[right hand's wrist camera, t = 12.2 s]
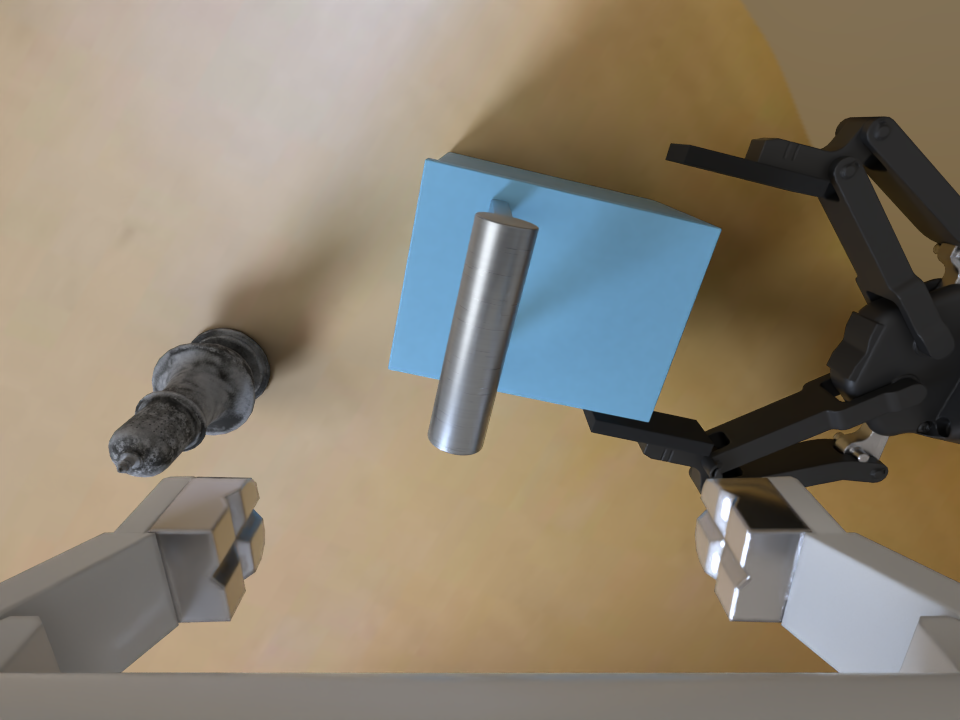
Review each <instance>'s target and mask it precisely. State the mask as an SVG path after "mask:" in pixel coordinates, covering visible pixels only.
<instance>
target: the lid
mask: <svg viewBox="0 0 960 720" xmlns="http://www.w3.org/2000/svg"><path fill="white" fill-rule="evenodd" d="M721 230H722V229H721V228H719V227H716V226H714V225H711V224H707V223H702V222H698V221H694V220H690V219H685V218H681V217H677V216H673V215H668V214H664V213H660V212H656V211H651V210H647V209H643V208H639V207H635V206H630V205H626V204H622V203H618V202H613V201H609V200H605V199H601V198H596V197H592V196H588V195H584V194H579V193H575V192H571V191H567V190H562V189H558V188H554V187H550V186H545V185H541V184H537V183H533V182H528V181H524V180H520V179H516V178H511V177H507V176H503V175H499V174H494V173H490V172H486V171H482V170H478V169H473V168H469V167H465V166H461V165H456V164H452V163H448V162H444V161H439V160H435V159H431V158H427V159H426V160H425V165H424V170H423V176H422V181H421V187H420V193H419V198H418V204H417V209H416V215H415V221H414V226H413V232H412V238H411V243H410V249H409V254H408V260H407V266H406V271H405V277H404V282H403V288H402V294H401V299H400V305H399V311H398V316H397V322H396V327H395V333H394V339H393V344H392V350H391V355H390V361H389V367H388V369H390V370H395V371H400V372H405V373H409V374H414V375H419V376H424V377H429V378H434V379H439V384H438V389H437V393H436V398H435V403H434V407H433V412H432V417H431V421H430V426H429V430H428V438H429V440H430V442H431V443H432V444H433V445H434V446H435V447H437V448H438V449H440V450H442V451H445V452H447V453H451V454H455V455H471V454H475V453H477V452H479V451H480V450H481V449H482V447H483V443H484V439H485V436H486V432H487V428H488V424H489V420H490V416H491V412H492V409H493V405H494V401H495V397H496V393H497V391H498V392H502V393H507V394H512V395H517V396H522V397H527V398H532V399H537V400H542V401H546V402H551V403H556V404H561V405H566V406H571V407H576V408H581V409H586V410H591V411H595V412H600V413H605V414H610V415H615V416H620V417H625V418H630V419H635V420H639V421H644V422H649V421H650V418H651V416H652V413H653V410H654V408H655V405H656V402H657V400H658V397H659V394H660V392H661V389H662V386H663V384H664V381H665V378H666V376H667V373H668V371H669V368H670V365H671V363H672V360H673V357H674V355H675V352H676V349H677V347H678V344H679V341H680V339H681V336H682V333H683V331H684V328H685V325H686V323H687V320H688V318H689V315H690V312H691V310H692V307H693V304H694V302H695V299H696V296H697V294H698V291H699V288H700V286H701V283H702V280H703V278H704V275H705V272H706V270H707V267H708V265H709V262H710V259H711V257H712V254H713V251H714V249H715V246H716V243H717V241H718V238H719V235H720V233H721Z"/></svg>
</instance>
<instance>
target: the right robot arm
mask: <svg viewBox="0 0 960 720" xmlns="http://www.w3.org/2000/svg"><path fill="white" fill-rule="evenodd" d="M258 500H259V494H258V489H257V484H256V482H255V481H254V480H253V479H252V478H232V477H168V478H164V479H162V480H161V481H160V483H159V484H158V485H157V486H156V487H155V488H154V489H153V490H152V491H151V492H150V493H149V495H148V496H147V497H146V498H145V499H144V500H143V501H142V502H141V503H140V504H139V505H138V507H137V508H136V509H135V510H134V511H133V512H132V513H131V514H130V515H129V516H128V517H127V519H126V520H125V521H124V522H123V523H122V524H121V525H120V526H119V527H118V528H117V529H116V531H115V532H114V533H103V534H101V535H99V536H96V537H94V538H92V539H90V540H88V541H86V542H84V543H82V544H80V545H78V546H76V547H74V548H72V549H70V550H67V551H65V552H63V553H61V554H59V555H57V556H55V557H53V558H51V559H49V560H47V561H45V562H43V563H41V564H38V565H36V566H34V567H32V568H30V569H28V570H26V571H24V572H22V573H20V574H18V575H16V576H14V577H11V578H9V579H7V580H5V581H3V582H1V583H0V720H960V583H959V582H957V581H954V580H952V579H950V578H948V577H946V576H944V575H942V574H940V573H938V572H936V571H934V570H932V569H930V568H928V567H926V566H923V565H921V564H919V563H917V562H915V561H913V560H911V559H909V558H907V557H905V556H903V555H901V554H899V553H897V552H895V551H892V550H890V549H888V548H886V547H884V546H882V545H880V544H878V543H876V542H874V541H872V540H870V539H868V538H866V537H864V536H861V535H859V534H857V533H846V532H845V531H844V529H843V528H842V527H841V526H840V525H839V524H838V523H837V522H836V521H835V520H834V519H833V517H832V516H831V515H830V514H829V513H828V512H827V511H826V510H825V509H824V508H823V507H822V505H821V504H820V503H819V502H818V501H817V500H816V499H815V498H814V497H813V496H812V495H811V493H810V492H809V491H808V490H807V489H806V488H805V487H804V486H803V485H802V484H801V483H800V481H799V480H798V479H796V478H793V477H791V476H783V477H762V478H719V479H706V481H705V483H704V485H703V488H702V493H701V500H702V502H703V503H704V505H705V507H706V508H707V509H706V510H705V511H704V512H703V513H702V514H701V515H700V516H699V517H698V518H697V523H696V530H695V542H696V551H697V554H698V558H699V561H700V563H701V565H702V567H703V570H704V572H706V573H707V574H708V575H710V576H711V577H713V578H714V579H716V584H715V590H714V591H715V593H716V595H717V597H718V599H719V601H720V603H721V605H722V607H723V609H724V611H725V613H726V615H727V616H728V618H729V620H730V621H743V622H779V623H782V624H781V625H782V626H783V627H784V628H786V629H787V630H788V631H789V632H790V633H792V634H793V635H794V636H795V637H797V638H798V639H799V640H800V641H801V642H803V643H804V644H805V645H806V646H807V647H809V648H810V649H811V650H812V651H814V652H815V653H816V654H817V655H818V656H820V657H821V658H822V659H823V660H824V661H826V662H827V663H828V664H829V665H831V666H832V667H833V668H834V669H835V670H837V671H838V672H839V673H121V672H122V671H124V670H125V669H126V668H127V667H128V666H130V665H131V664H132V663H133V662H134V661H136V660H137V659H138V658H139V657H141V656H142V655H143V654H144V653H145V652H147V651H148V650H149V649H150V648H152V647H153V646H154V645H155V644H156V643H158V642H159V641H160V640H161V639H162V638H164V637H165V636H166V635H167V634H169V633H170V632H171V631H172V630H173V629H175V628H176V627H177V626H178V625H179V624H178V623H181V622H216V621H230V620H231V619H232V617H233V615H234V613H235V611H236V609H237V607H238V605H239V603H240V601H241V599H242V597H243V595H244V593H245V591H246V590H245V584H244V579H246V578H247V577H249V576H250V575H252V574H253V573H254V572H256V570H257V567H258V565H259V563H260V561H261V558H262V554H263V549H264V545H265V528H264V522H263V518H262V517H261V516H260V515H259V514H258V513H257V512H256V511H255V510H254V509H253V508H254V507H255V505H256V503H257V502H258Z"/></svg>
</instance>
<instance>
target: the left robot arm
mask: <svg viewBox="0 0 960 720" xmlns="http://www.w3.org/2000/svg"><path fill="white" fill-rule="evenodd" d="M666 160H668V161H672V162H676V163H680V164H684V165H688V166H692V167H696V168H700V169H704V170H708V171H712V172H716V173H720V174H724V175H728V176H732V177H736V178H740V179H744V180H748V181H752V182H756V183H760V184H764V185H768V186H772V187H776V188H780V189H784V190H788V191H792V192H797V193H802V194H806V195H811V196H816V197H818V199H819V201H820V202H821V204H822V206H823V208H824V210H825V212H826V214H827V216H828V218H829V220H830V222H831V224H832V226H833V228H834V230H835V232H836V234H837V236H838V238H839V240H840V242H841V244H842V246H843V248H844V250H845V252H846V254H847V256H848V257H849V259H850V261H851V263H852V265H853V267H854V269H855V271H856V273H857V278H856V282H857V284H858V286H859V288H860V290H861V292H862V294H863V296H864V298H865V300H866V302H867V305H866V306H864V307H863V308H862V309H861V310H860V311H859V312H858V313H857V312H852V315H851V317H850V319H849V321H848V323H847V325H846V329H845V333H844V338H843V340H842V342H841V343H840V344H839V345H838V347H837V348H836V349H835V350H834V351H833V353H832V355H831V357H830V359H829V361H828V363H827V366H829V367H830V368H831V369H830V373H829V374H827V375H824V376H822V377H820V378H817V379H815V380H812V381H810V382H808V383H806V384H805V385H804V386H803V389H802V391H800V392H798V393H795V394H793V395H791V396H788V397H786V398H783V399H781V400H779V401H776V402H774V403H772V404H769V405H767V406H764V407H762V408H760V409H757V410H755V411H753V412H750V413H748V414H746V415H743V416H741V417H738V418H736V419H734V420H731V421H729V422H727V423H724V424H722V425H719V426H717V427H715V428H712V429H710V430H708V431H704V430H703V429H702V427H701V426H700V425H699V423H698V422H697V420H693V419H689V418H684V417H679V416H674V415H670V414H665V413H660V412H655V411H653V413H652V416H651V418H650V421H649V422H644V421H639V420H635V419H630V418H625V417H620V416H615V415H610V414H605V413H600V412H595V411H591V410H586V409H583V411H584V414H585V416H586V419H587V422H588V425H589V427H590V430H591V432H593V433H598V434H603V435H607V436H612V437H617V438H622V439H627V440H632V441H636V442H638V444H639V446H640V448H641V450H642V452H643V454H645V455H646V456H648V457H650V458H651V459H656V460H662V461H666V462H671V463H676V464H681V465H685V466H690V467H691V468H690V470H689V475H690V477H691V479H692V480H693V482H694V484H695V485H696V487H697V489H698V490H699V492H700V494H701V493H702V488H703V485H704V483H705V481H706V479H719V478H762V477H783V476H791V477H793V478H796V479H798V480H799V481H800V483H801V484H802V485H803V486H804V487H808V486H813V485H818V484H824V483H829V482H834V481H839V480H851V481H861V482H871V483H875V482H879V481H882V480H883V479H884V478H885V477H886V476H887V474H888V468H887V467H886V466H885V465H884V464H883V463H882V462H881V461H879V458H880V456H881V454H882V451H883V449H884V447H885V445H886V442H887V440H888V438H889V436H894V435H898V434H903V433H916V434H920V435H923V436H927V437H931V438H935V439H940V440H944V441H949V442H954V443H958V444H960V196H959V195H958V193H957V192H956V191H955V190H954V189H953V188H952V187H951V185H950V184H949V183H948V182H947V181H946V180H945V178H944V177H943V176H942V175H941V174H940V173H939V172H938V170H937V169H936V168H935V167H934V166H933V165H932V163H931V162H930V161H929V160H928V159H927V158H926V157H925V155H924V154H923V153H922V152H921V151H920V150H919V149H918V147H917V146H916V145H915V144H914V143H913V142H912V140H911V139H910V138H909V137H908V136H907V135H906V134H905V132H904V131H903V130H902V129H901V128H900V127H899V126H898V124H897V123H896V122H895V121H894V120H893V119H891V118H890V117H850V118H847V119H844V120H843V121H842V122H840V124H839V125H838V127H837V129H836V132H835V137H834V138H833V140H832V141H831V142H830V143H829V144H828V145H827V146H826V147H824V148H822V149H818V148H814V147H810V146H806V145H802V144H798V143H795V142H790V141H787V140H783V139H779V138H760V139H753V140H752V141H751V144H750V146H749V149H748V151H747V154H746V157H745V159H743V158H739V157H735V156H732V155H728V154H724V153H720V152H716V151H712V150H708V149H704V148H700V147H696V146H692V145H684V144H672V143H671V144H670V147H669V151H668V154H667V157H666ZM867 174H868V175H869V176H870V178H871V179H872V180H873V181H874V182H875V183H876V184H877V185H878V186H879V187H880V188H881V190H882V191H883V192H884V193H885V194H886V195H887V196H888V197H889V198H890V199H891V201H892V202H893V203H894V204H895V205H896V206H897V207H898V208H899V209H900V210H901V211H902V213H903V214H904V215H905V216H906V217H907V218H908V219H909V220H910V221H911V222H912V223H913V225H914V226H915V227H916V228H917V229H918V230H919V231H920V232H921V233H922V234H923V235H925V236H926V237H928V238H929V239H931V240H933V241H935V242H937V244H936V245H935V246H934V248H933V252H934V253H935V254H937V256H938V259H939V261H941V262H942V263H943V264H944V266H945V274H944V276H943V278H938V279H932V280H929V281H927V282H923V281H922V280H921V279H920V278H919V277H917V276H916V275H915V274H914V273H913V271H912V269H911V267H910V265H909V262H908V260H907V258H906V256H905V254H904V252H903V250H902V248H901V245H900V243H899V241H898V239H897V237H896V235H895V233H894V231H893V229H892V226H891V224H890V222H889V220H888V218H887V216H886V214H885V212H884V209H883V207H882V205H881V203H880V201H879V199H878V197H877V195H876V192H875V190H874V188H873V186H872V184H871V182H870V180H869V178H868V175H867ZM840 394H841V396H842V397H843V399H844V400H845V401H846V402H842V401H839V400H838V399H837V398H835V396H838V395H840ZM862 423H863V424H862ZM860 424H862V426H861V427H860V429H859V430H857V431H856V432H854V433H850V434H843V433H842V432H839V433H836V434H835V435H834V438H833V439H816V440H809V441H804V442H801V441H803V440H806V439H808V438H811V437H813V436H816V435H818V434H820V433H823V432H825V431H828V430H831V429H838V430H847V429H850V428H852V427H855V426H857V425H860ZM798 442H799V443H798Z"/></svg>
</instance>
